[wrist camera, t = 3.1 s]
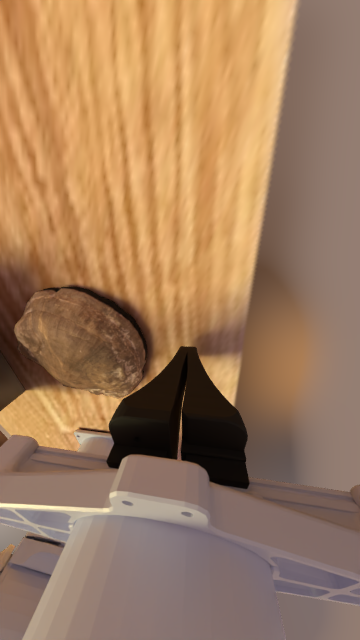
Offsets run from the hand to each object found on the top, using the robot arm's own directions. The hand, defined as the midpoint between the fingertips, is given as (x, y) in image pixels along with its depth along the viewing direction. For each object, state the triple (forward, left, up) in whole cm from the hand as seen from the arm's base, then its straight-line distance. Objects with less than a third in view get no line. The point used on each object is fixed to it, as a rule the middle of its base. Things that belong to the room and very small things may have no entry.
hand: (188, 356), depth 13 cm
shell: (0, +10, -2) cm, 10 cm away
